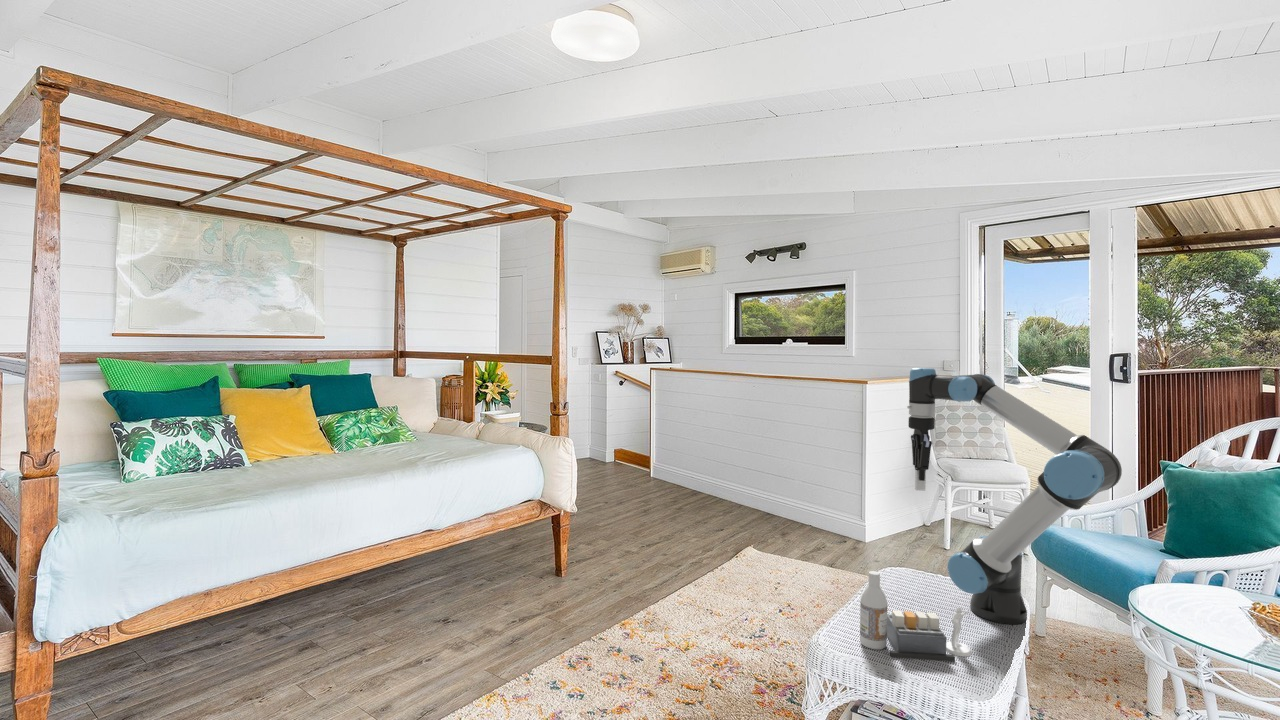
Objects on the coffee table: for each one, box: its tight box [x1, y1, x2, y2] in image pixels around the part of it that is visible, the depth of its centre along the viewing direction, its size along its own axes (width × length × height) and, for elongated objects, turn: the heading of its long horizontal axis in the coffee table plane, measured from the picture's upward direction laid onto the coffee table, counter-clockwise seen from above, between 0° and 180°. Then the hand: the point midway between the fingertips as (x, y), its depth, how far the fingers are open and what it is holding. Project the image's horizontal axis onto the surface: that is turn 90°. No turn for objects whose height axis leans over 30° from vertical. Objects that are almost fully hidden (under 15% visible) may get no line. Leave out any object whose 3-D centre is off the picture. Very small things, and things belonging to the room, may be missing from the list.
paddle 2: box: [903, 610, 916, 628], centre depth 167 cm, size 2×4×3 cm, turn 172°
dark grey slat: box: [889, 649, 956, 662], centre depth 161 cm, size 16×1×1 cm, turn 82°
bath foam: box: [859, 570, 888, 650], centre depth 168 cm, size 7×7×20 cm
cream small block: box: [891, 610, 904, 627], centre depth 167 cm, size 2×4×3 cm, turn 172°
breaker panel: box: [887, 613, 947, 655], centre depth 167 cm, size 12×12×7 cm
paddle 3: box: [914, 611, 928, 629], centre depth 167 cm, size 2×4×3 cm, turn 172°
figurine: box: [946, 606, 973, 657], centre depth 165 cm, size 7×7×12 cm
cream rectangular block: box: [925, 612, 940, 630], centre depth 166 cm, size 2×4×3 cm, turn 172°
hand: (920, 489), depth 194 cm, fingers closed
